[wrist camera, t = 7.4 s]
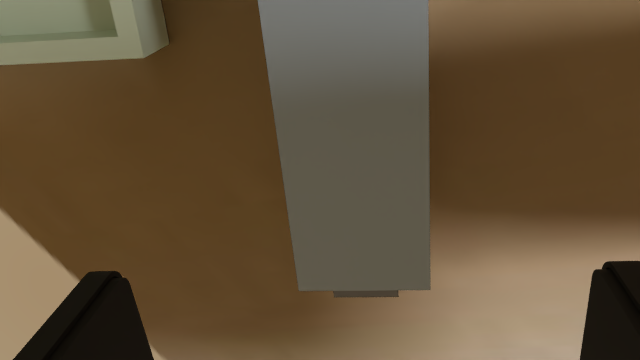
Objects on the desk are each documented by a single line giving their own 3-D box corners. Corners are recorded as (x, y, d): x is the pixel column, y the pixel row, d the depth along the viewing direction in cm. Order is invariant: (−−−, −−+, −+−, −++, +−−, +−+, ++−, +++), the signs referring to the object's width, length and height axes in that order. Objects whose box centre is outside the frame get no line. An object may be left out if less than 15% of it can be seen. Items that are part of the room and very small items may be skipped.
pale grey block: (414, -97, 18) (427, -106, 13) (420, 225, 24) (430, 313, 18) (285, -83, 19) (245, -86, 13) (320, 227, 24) (301, 313, 19)
